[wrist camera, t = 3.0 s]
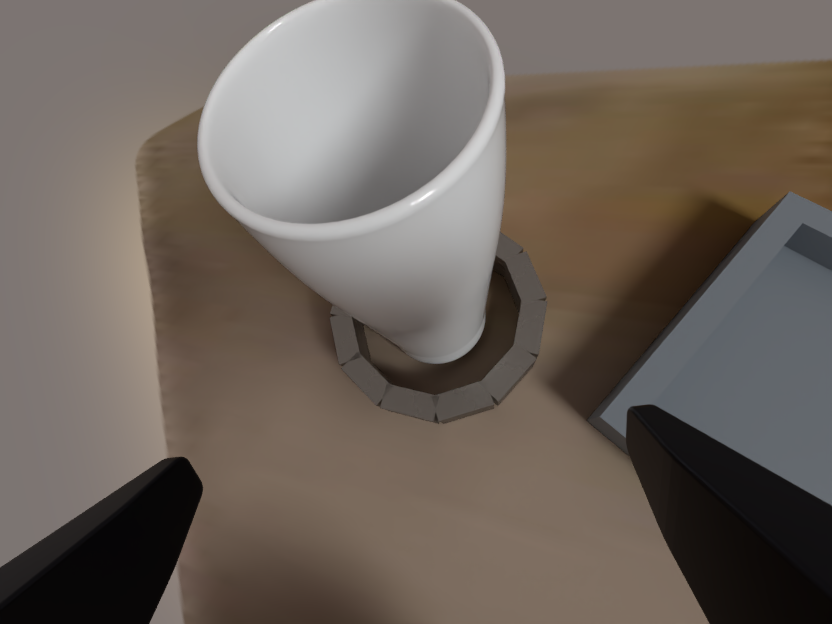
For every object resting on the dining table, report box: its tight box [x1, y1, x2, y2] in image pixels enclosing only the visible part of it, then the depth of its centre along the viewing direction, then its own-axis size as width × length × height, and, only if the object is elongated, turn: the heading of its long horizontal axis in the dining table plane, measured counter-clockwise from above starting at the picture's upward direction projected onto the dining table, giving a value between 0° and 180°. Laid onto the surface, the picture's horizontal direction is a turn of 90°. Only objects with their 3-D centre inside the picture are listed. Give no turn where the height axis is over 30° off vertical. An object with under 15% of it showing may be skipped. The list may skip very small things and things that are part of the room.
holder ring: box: [330, 232, 547, 424], centre depth 21 cm, size 11×11×2 cm
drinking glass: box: [197, 0, 506, 364], centre depth 15 cm, size 7×7×15 cm
